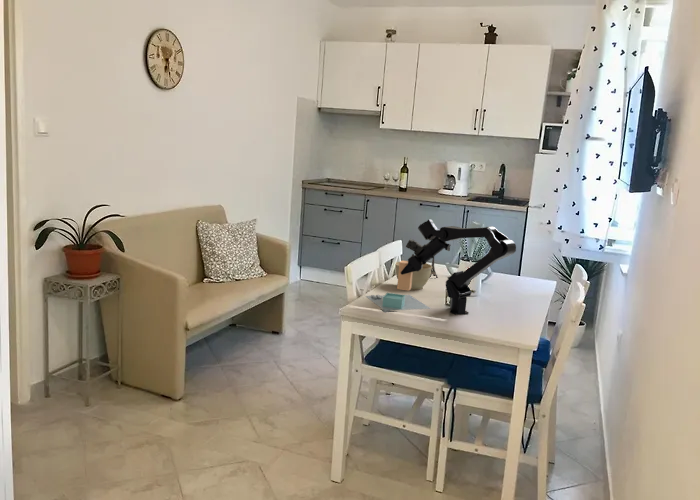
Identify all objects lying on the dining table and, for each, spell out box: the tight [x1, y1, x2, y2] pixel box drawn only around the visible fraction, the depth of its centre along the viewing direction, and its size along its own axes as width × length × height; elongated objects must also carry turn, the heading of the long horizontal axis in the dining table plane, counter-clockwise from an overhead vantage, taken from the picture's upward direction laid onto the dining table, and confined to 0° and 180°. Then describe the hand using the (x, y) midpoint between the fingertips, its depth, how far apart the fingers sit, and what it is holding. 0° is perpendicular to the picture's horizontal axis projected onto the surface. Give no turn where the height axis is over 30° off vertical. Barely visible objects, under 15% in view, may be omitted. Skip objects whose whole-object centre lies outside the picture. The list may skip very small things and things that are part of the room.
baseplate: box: [365, 292, 432, 313], centre depth 246 cm, size 20×20×4 cm
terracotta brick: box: [396, 260, 413, 291], centre depth 250 cm, size 5×5×11 cm
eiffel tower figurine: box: [429, 256, 439, 279], centre depth 297 cm, size 15×10×13 cm
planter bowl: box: [394, 260, 433, 291], centre depth 272 cm, size 16×16×11 cm
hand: (402, 272), depth 251 cm, fingers closed on terracotta brick, 5 cm apart
